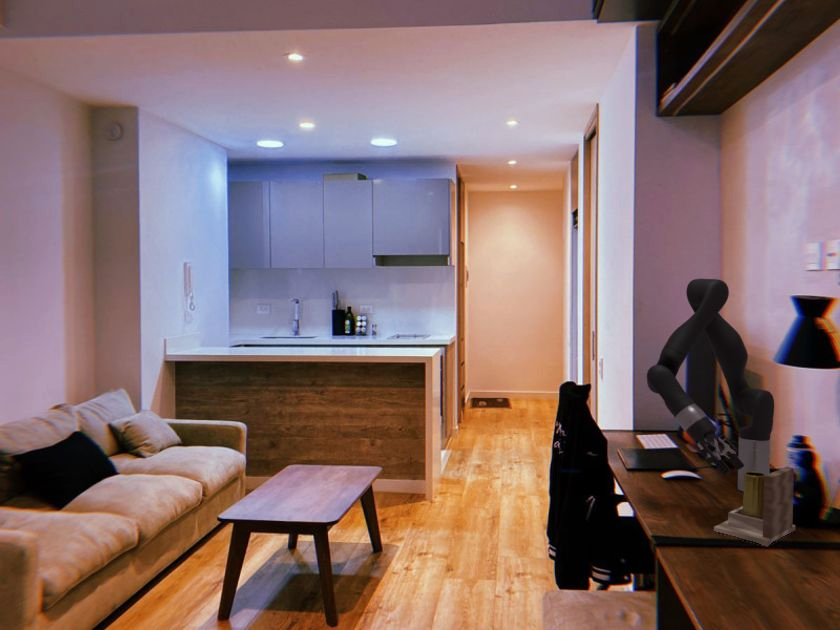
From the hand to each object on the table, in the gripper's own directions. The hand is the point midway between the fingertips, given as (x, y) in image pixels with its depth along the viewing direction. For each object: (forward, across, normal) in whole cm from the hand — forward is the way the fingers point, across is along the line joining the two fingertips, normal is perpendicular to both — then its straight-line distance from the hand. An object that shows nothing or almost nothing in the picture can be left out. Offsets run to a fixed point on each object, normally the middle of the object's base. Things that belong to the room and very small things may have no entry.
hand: (734, 470), depth 195 cm
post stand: (+15, 0, +7) cm, 17 cm away
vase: (+14, 0, +6) cm, 15 cm away
